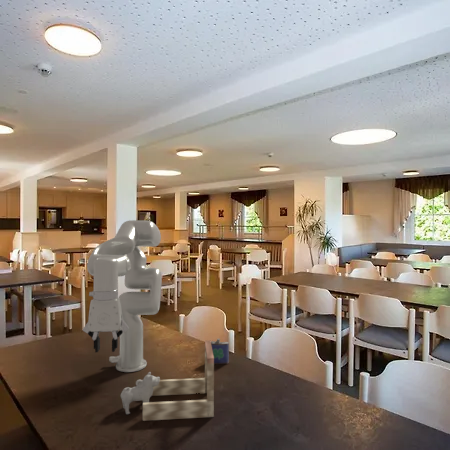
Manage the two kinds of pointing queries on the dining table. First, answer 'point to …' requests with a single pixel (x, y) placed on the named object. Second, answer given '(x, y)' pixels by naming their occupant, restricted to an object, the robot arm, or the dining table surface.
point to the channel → (184, 387)
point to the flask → (220, 352)
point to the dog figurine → (139, 391)
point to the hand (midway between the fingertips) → (105, 350)
